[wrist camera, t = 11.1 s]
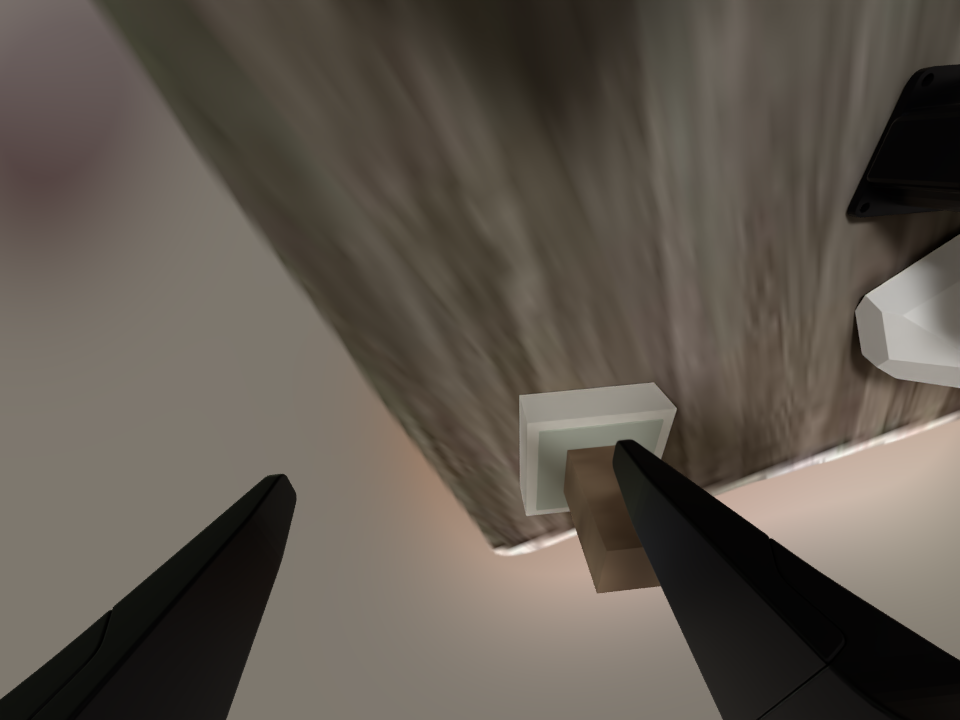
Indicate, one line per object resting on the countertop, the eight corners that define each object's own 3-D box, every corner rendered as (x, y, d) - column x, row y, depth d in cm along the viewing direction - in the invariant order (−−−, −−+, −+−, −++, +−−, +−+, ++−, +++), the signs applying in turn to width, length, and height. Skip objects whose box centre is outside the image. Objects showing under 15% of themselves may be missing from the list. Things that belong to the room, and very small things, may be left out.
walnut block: (631, 443, 23) (691, 541, 18) (621, 485, 26) (672, 584, 20) (567, 450, 23) (606, 551, 17) (563, 491, 26) (597, 593, 20)
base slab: (653, 382, 25) (678, 409, 22) (630, 473, 30) (648, 504, 27) (519, 395, 25) (527, 424, 22) (519, 484, 30) (526, 517, 27)
